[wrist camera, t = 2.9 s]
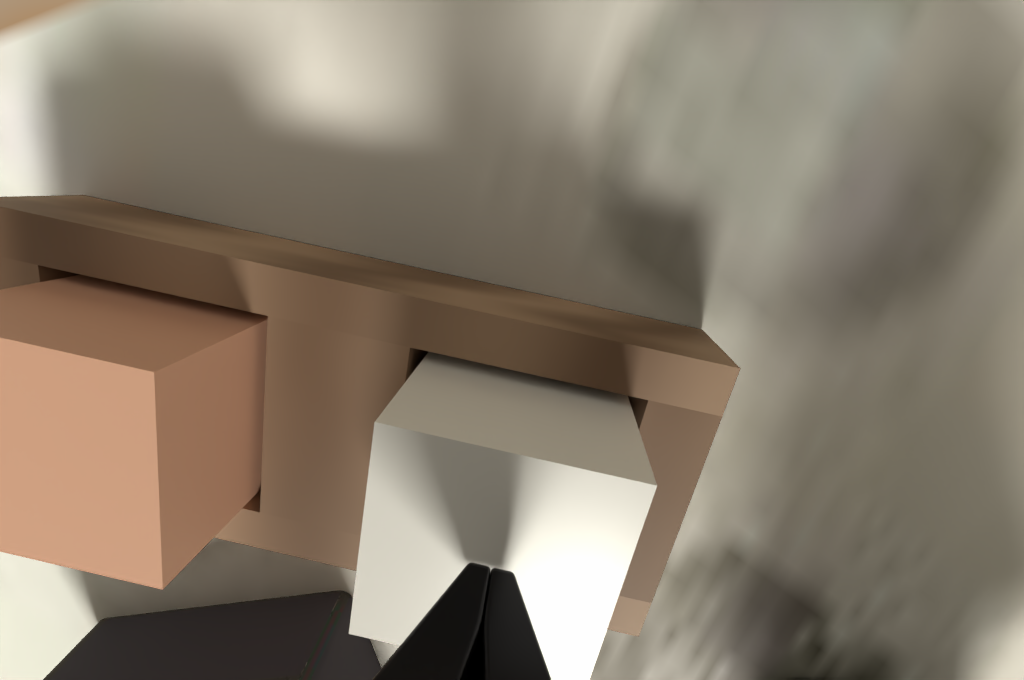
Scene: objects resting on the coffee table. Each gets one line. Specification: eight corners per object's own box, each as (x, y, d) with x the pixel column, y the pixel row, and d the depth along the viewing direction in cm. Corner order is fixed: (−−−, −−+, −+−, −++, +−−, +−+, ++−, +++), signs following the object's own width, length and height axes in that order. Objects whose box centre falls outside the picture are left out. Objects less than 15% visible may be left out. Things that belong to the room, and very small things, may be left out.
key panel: (702, 329, 14) (740, 368, 11) (624, 556, 16) (638, 636, 13) (82, 194, 14) (-39, 198, 11) (102, 436, 16) (7, 489, 14)
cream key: (626, 391, 12) (657, 485, 8) (577, 549, 14) (585, 689, 10) (431, 348, 12) (374, 421, 8) (406, 510, 14) (348, 633, 10)
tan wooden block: (278, 314, 12) (153, 372, 9) (270, 479, 14) (162, 590, 10) (89, 272, 12) (-115, 311, 9) (103, 441, 14) (-65, 536, 10)
